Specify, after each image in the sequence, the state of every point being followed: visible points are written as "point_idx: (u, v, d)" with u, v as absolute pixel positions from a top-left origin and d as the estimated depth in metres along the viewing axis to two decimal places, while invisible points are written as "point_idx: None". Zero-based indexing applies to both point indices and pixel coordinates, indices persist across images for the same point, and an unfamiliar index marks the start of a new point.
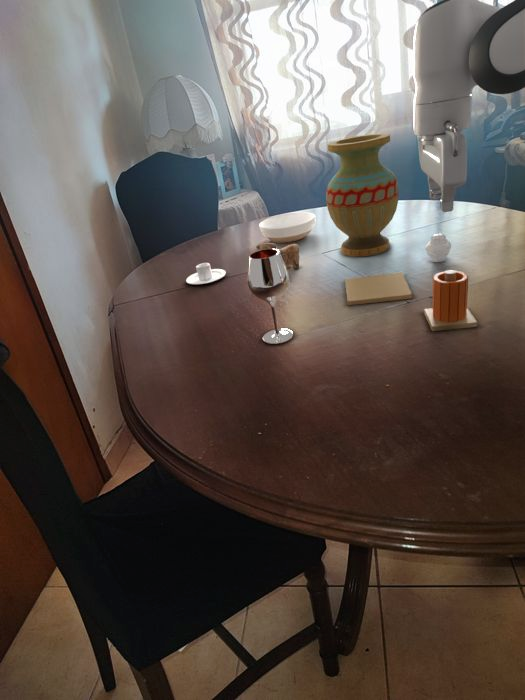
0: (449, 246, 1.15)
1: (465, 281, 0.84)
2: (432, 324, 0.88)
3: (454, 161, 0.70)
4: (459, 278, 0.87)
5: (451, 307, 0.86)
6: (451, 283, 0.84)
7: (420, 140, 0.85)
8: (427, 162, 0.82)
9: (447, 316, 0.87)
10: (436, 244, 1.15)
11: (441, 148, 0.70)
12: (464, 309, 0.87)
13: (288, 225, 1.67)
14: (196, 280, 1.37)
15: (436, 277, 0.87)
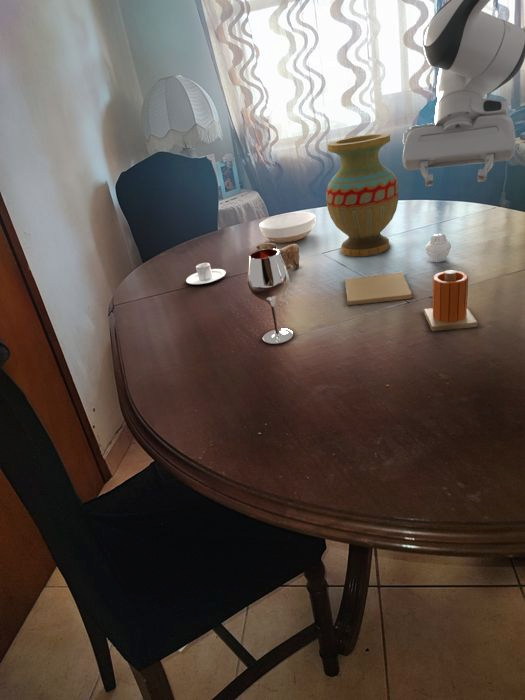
0: (449, 246, 1.15)
1: (465, 281, 0.84)
2: (432, 324, 0.88)
3: None
4: (459, 278, 0.87)
5: (451, 307, 0.86)
6: (451, 283, 0.84)
7: None
8: None
9: (447, 316, 0.87)
10: (436, 244, 1.15)
11: None
12: (464, 309, 0.87)
13: (288, 225, 1.67)
14: (196, 280, 1.37)
15: (436, 277, 0.87)
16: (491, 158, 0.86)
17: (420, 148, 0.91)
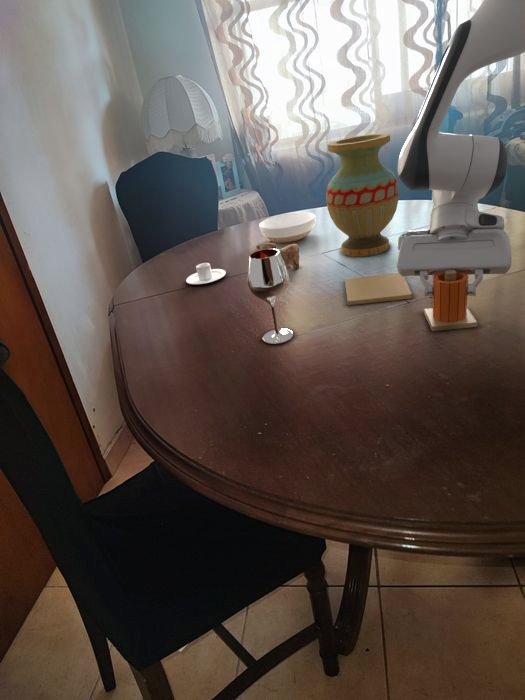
0: None
1: (465, 281, 0.84)
2: (432, 324, 0.88)
3: None
4: (459, 278, 0.87)
5: (451, 307, 0.86)
6: (451, 283, 0.84)
7: None
8: None
9: (447, 316, 0.87)
10: None
11: None
12: (464, 309, 0.87)
13: (288, 225, 1.67)
14: (196, 280, 1.37)
15: (436, 277, 0.87)
16: (480, 273, 0.85)
17: (415, 258, 0.90)
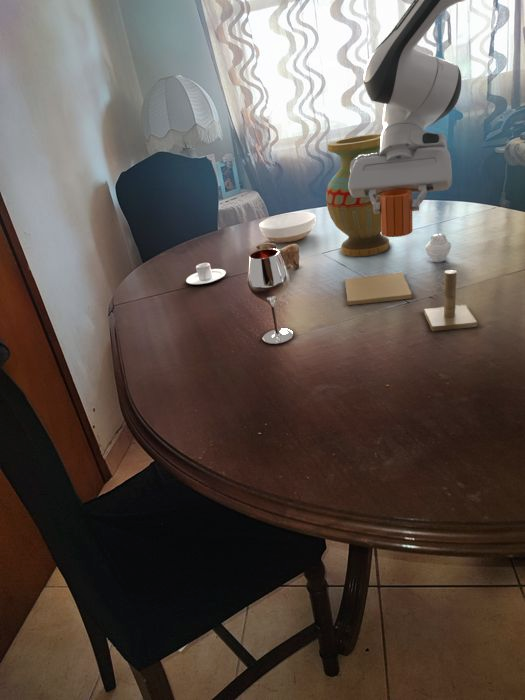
0: (449, 246, 1.15)
1: (408, 195, 0.89)
2: (432, 324, 0.88)
3: None
4: None
5: (396, 221, 0.91)
6: (395, 196, 0.89)
7: None
8: None
9: (393, 231, 0.92)
10: (436, 244, 1.15)
11: None
12: (409, 224, 0.92)
13: (288, 225, 1.67)
14: (196, 280, 1.37)
15: (383, 194, 0.92)
16: (423, 189, 0.90)
17: (365, 178, 0.95)
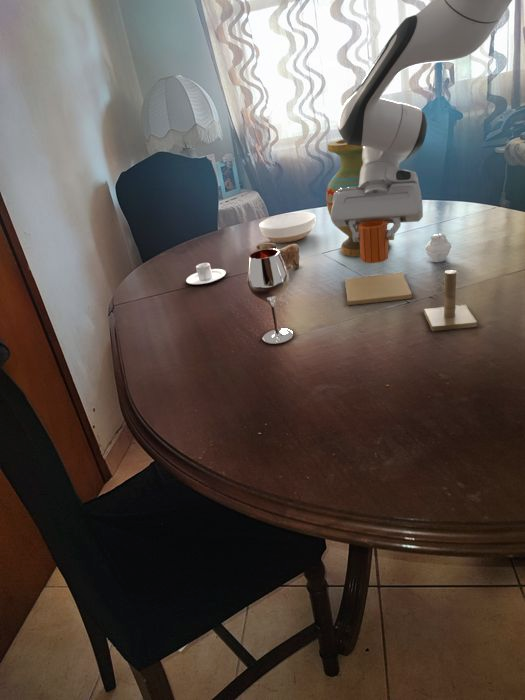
0: (449, 246, 1.15)
1: (383, 226, 1.00)
2: (432, 324, 0.88)
3: None
4: None
5: (373, 249, 1.01)
6: (371, 228, 0.99)
7: None
8: None
9: (370, 258, 1.02)
10: (436, 244, 1.15)
11: None
12: (384, 252, 1.02)
13: (288, 225, 1.67)
14: (196, 280, 1.37)
15: (361, 224, 1.02)
16: (397, 220, 1.00)
17: (345, 209, 1.05)
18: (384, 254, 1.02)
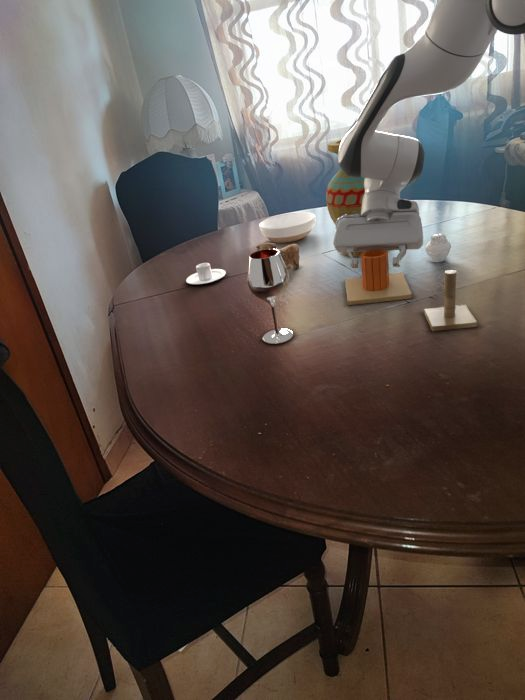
0: (449, 246, 1.15)
1: (384, 256, 1.03)
2: (432, 324, 0.88)
3: None
4: (382, 255, 1.06)
5: (374, 278, 1.05)
6: (373, 258, 1.02)
7: None
8: None
9: (372, 286, 1.06)
10: (436, 244, 1.15)
11: None
12: (386, 280, 1.05)
13: (288, 225, 1.67)
14: (196, 280, 1.37)
15: (363, 254, 1.06)
16: (403, 248, 1.03)
17: (348, 236, 1.08)
18: (385, 282, 1.06)
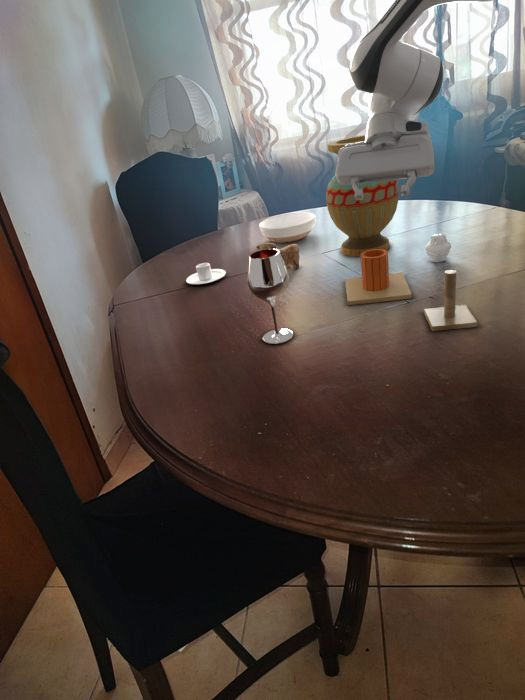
0: (449, 246, 1.15)
1: (384, 256, 1.03)
2: (432, 324, 0.88)
3: None
4: (382, 255, 1.06)
5: (374, 278, 1.05)
6: (373, 258, 1.02)
7: None
8: None
9: (372, 286, 1.06)
10: (436, 244, 1.15)
11: None
12: (386, 280, 1.05)
13: (288, 225, 1.67)
14: (196, 280, 1.37)
15: (363, 254, 1.06)
16: (412, 174, 0.93)
17: (351, 165, 0.99)
18: (385, 282, 1.06)
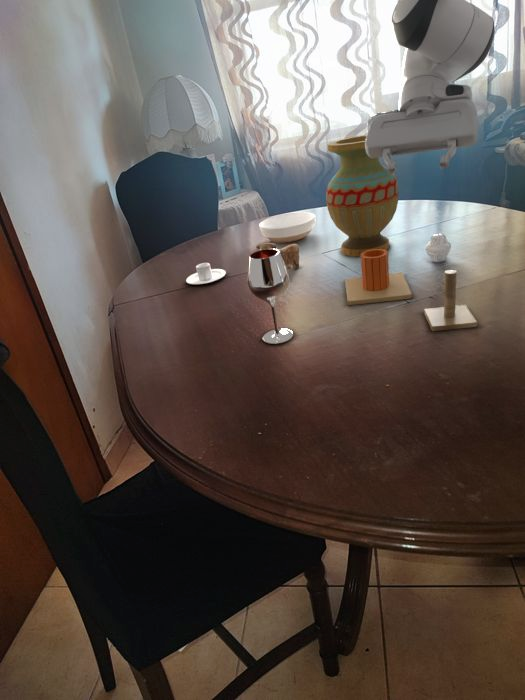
0: (449, 246, 1.15)
1: (384, 256, 1.03)
2: (432, 324, 0.88)
3: None
4: (382, 255, 1.06)
5: (374, 278, 1.05)
6: (373, 258, 1.02)
7: None
8: None
9: (372, 286, 1.06)
10: (436, 244, 1.15)
11: None
12: (386, 280, 1.05)
13: (288, 225, 1.67)
14: (196, 280, 1.37)
15: (363, 254, 1.06)
16: (453, 144, 0.84)
17: (383, 135, 0.89)
18: (385, 282, 1.06)
